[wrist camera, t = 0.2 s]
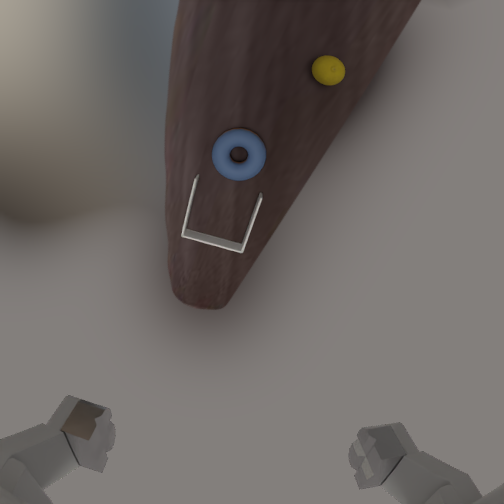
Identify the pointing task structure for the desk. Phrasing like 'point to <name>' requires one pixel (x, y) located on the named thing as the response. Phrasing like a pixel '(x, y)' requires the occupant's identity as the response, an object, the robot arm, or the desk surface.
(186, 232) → the box
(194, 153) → the desk surface
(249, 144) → the doughnut
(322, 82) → the lemon
